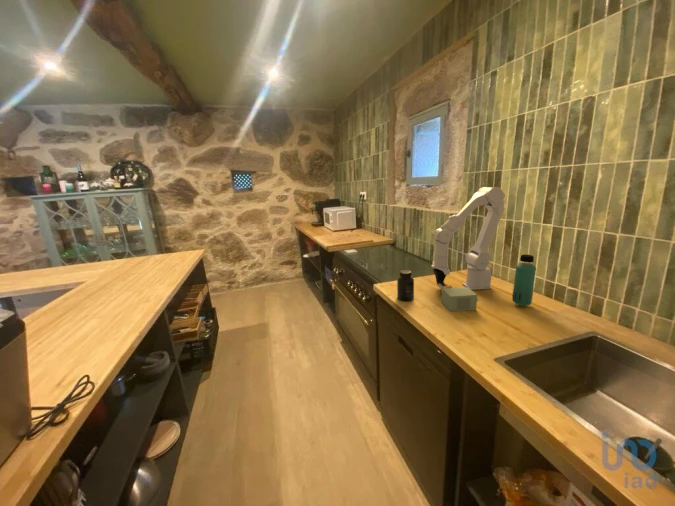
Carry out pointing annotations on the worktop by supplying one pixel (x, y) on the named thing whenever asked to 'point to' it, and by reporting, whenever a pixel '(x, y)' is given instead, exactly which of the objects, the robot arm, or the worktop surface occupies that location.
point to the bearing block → (459, 299)
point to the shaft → (444, 285)
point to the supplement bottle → (405, 286)
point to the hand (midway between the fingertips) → (439, 284)
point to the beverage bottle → (524, 281)
